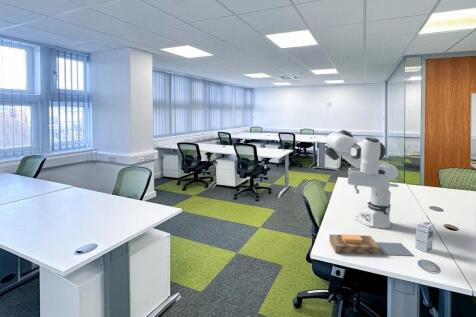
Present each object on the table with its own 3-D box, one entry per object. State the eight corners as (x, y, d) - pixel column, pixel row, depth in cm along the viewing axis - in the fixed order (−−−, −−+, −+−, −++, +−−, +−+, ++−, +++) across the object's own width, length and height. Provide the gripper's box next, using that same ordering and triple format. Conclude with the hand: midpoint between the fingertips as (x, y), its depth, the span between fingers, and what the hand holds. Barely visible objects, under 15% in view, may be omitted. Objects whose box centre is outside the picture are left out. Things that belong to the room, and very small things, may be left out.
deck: (335, 253, 147) (335, 245, 146) (329, 241, 161) (329, 234, 160) (379, 254, 145) (380, 247, 144) (369, 242, 159) (370, 235, 158)
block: (344, 242, 150) (344, 239, 150) (341, 237, 156) (341, 234, 156) (362, 243, 149) (362, 239, 149) (358, 238, 155) (358, 234, 155)
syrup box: (426, 252, 147) (429, 226, 145) (414, 248, 152) (416, 222, 150) (431, 250, 150) (434, 223, 148) (419, 245, 155) (422, 220, 153)
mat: (380, 254, 145) (380, 254, 145) (370, 242, 159) (370, 241, 159) (413, 256, 144) (413, 255, 143) (400, 243, 157) (400, 243, 157)
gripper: (347, 168, 151) (345, 193, 153) (391, 172, 141) (388, 199, 143) (348, 166, 156) (347, 190, 158) (391, 169, 147) (388, 195, 149)
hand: (367, 194), depth 151 cm, fingers open, 8 cm apart
